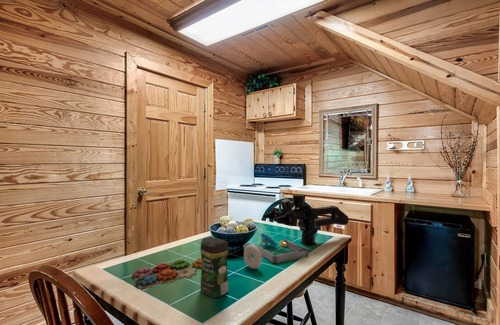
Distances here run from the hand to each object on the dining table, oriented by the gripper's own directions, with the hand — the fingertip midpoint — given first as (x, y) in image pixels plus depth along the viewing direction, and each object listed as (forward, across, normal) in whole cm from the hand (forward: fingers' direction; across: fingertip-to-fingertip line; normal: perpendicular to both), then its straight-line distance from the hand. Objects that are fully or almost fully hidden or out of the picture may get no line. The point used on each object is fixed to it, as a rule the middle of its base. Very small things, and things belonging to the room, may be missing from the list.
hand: (268, 218), depth 130 cm
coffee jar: (+38, +25, +16) cm, 48 cm away
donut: (+17, +14, +17) cm, 28 cm away
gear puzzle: (+46, +3, +17) cm, 49 cm away
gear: (-3, -6, +17) cm, 18 cm away
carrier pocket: (-3, +6, +17) cm, 18 cm away
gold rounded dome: (-12, -3, +17) cm, 21 cm away
